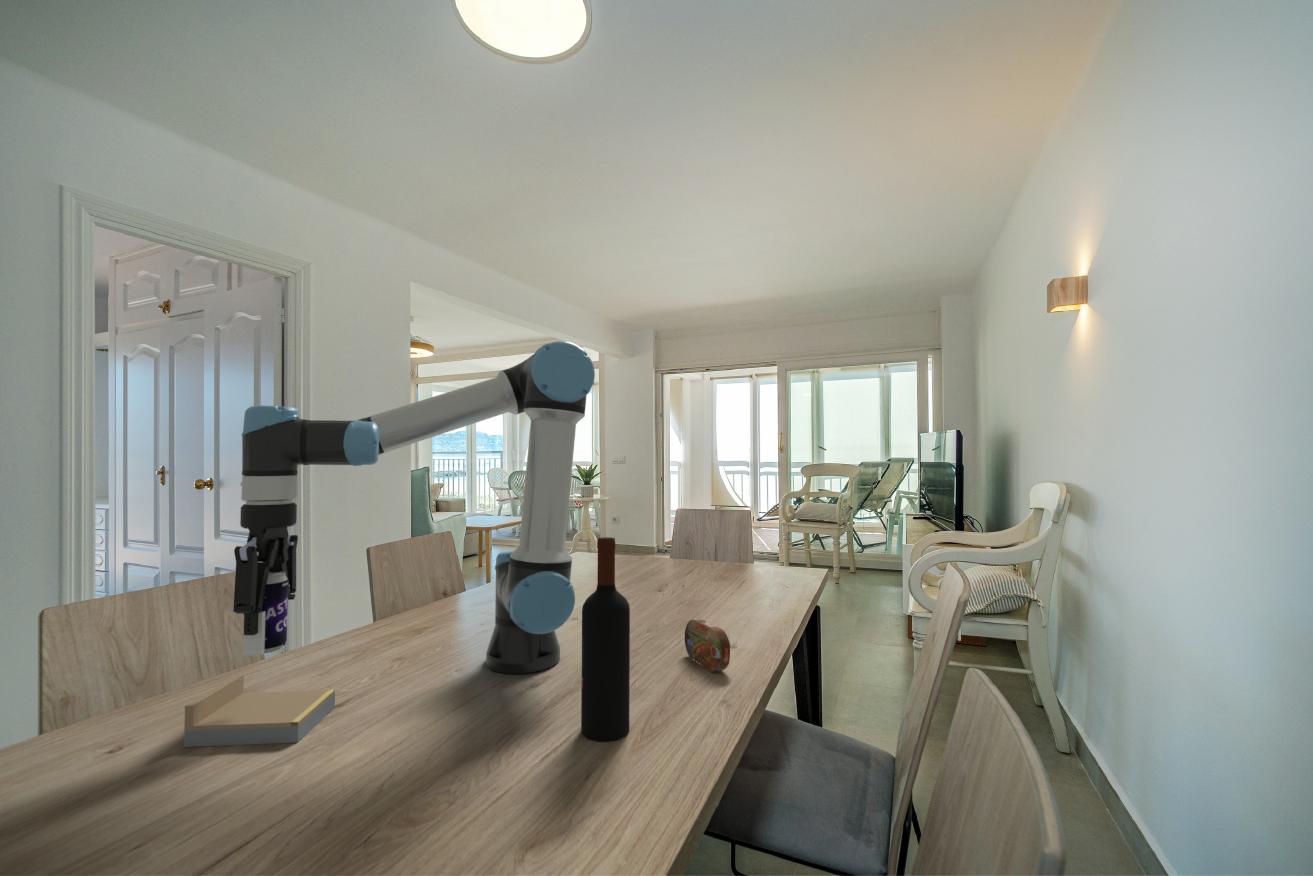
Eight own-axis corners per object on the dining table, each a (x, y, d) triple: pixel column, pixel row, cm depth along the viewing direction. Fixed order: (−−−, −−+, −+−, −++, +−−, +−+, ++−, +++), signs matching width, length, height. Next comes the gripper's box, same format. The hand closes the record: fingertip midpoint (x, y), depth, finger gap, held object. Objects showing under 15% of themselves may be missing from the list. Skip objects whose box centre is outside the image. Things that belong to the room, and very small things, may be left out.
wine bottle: (591, 746, 86) (592, 543, 87) (574, 725, 93) (575, 537, 94) (637, 735, 90) (638, 540, 91) (617, 715, 96) (618, 534, 97)
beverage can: (265, 656, 89) (267, 578, 90) (234, 654, 91) (236, 576, 91) (295, 645, 95) (296, 571, 95) (265, 642, 96) (267, 569, 96)
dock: (334, 707, 99) (335, 672, 99) (297, 742, 87) (298, 702, 87) (235, 711, 98) (236, 675, 98) (184, 747, 86) (184, 705, 86)
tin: (683, 654, 126) (683, 615, 126) (696, 652, 128) (696, 613, 128) (719, 678, 113) (719, 634, 113) (733, 676, 114) (733, 632, 114)
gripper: (277, 497, 102) (274, 630, 102) (204, 507, 84) (200, 670, 83) (322, 497, 103) (318, 629, 102) (259, 507, 84) (255, 668, 84)
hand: (265, 647), depth 93 cm, fingers closed on beverage can, 6 cm apart
